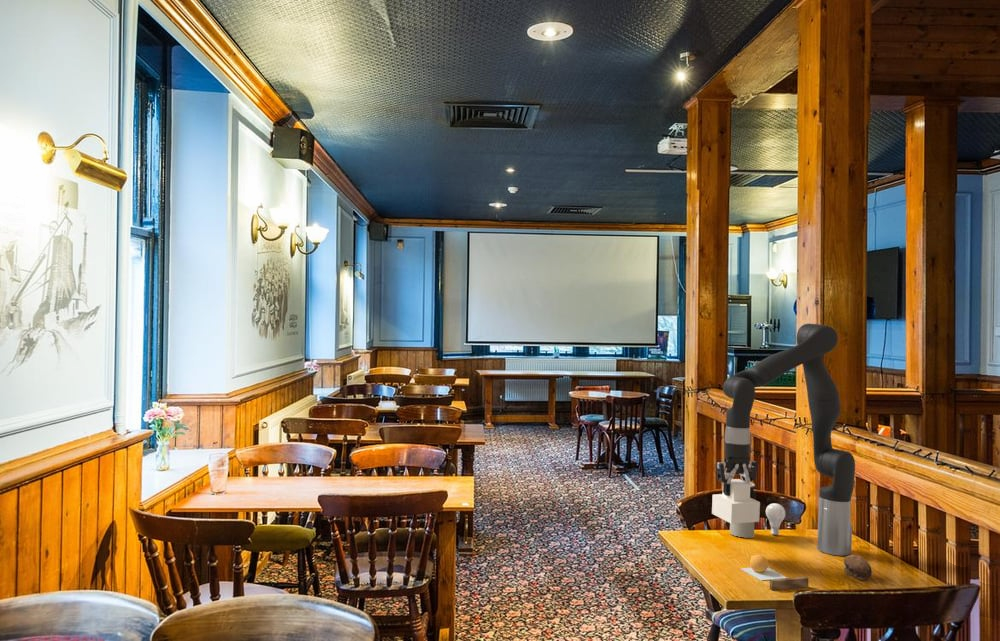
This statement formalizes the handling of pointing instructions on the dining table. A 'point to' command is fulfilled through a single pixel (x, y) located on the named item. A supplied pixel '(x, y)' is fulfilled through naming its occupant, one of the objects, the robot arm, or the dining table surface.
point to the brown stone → (857, 567)
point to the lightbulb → (775, 516)
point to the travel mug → (744, 528)
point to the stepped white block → (736, 504)
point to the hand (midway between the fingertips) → (735, 494)
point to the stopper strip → (789, 583)
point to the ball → (758, 563)
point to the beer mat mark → (764, 574)
